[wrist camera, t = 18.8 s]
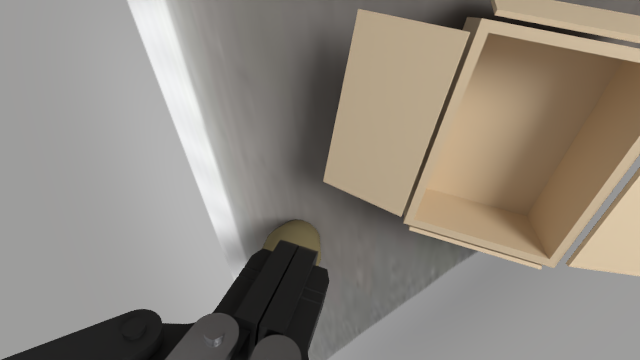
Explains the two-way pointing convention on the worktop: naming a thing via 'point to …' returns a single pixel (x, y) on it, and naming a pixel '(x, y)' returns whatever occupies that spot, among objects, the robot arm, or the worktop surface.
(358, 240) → the worktop surface
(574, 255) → the flap
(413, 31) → the flap
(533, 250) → the carton
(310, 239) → the squeeze bottle
